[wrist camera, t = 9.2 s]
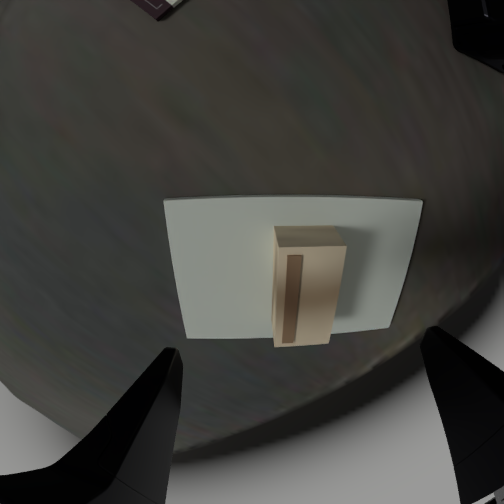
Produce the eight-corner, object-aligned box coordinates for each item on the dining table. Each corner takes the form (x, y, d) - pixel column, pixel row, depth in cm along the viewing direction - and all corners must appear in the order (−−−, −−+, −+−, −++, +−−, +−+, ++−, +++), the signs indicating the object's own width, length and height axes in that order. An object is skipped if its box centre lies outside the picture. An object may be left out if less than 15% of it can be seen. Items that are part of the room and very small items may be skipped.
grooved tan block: (320, 317, 23) (329, 344, 20) (271, 319, 23) (274, 348, 20) (333, 225, 19) (347, 246, 16) (273, 226, 19) (279, 248, 16)
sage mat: (419, 199, 18) (423, 201, 18) (386, 323, 24) (388, 327, 24) (165, 198, 18) (163, 200, 18) (187, 334, 24) (187, 338, 23)
